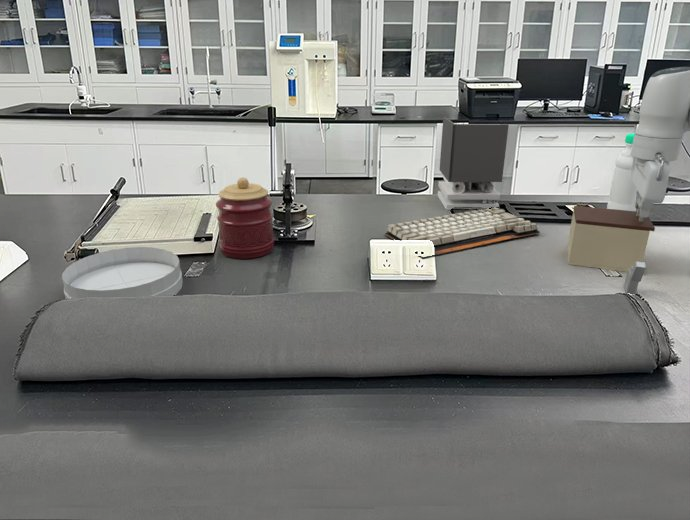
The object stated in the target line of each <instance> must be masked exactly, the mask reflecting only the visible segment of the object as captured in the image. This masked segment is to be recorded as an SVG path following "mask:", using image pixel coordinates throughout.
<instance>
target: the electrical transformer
mask: <svg viewBox="0 0 690 520" xmlns="http://www.w3.org/2000/svg"><path fill="white" fill-rule="evenodd" d="M441 130H442V131H441V145H440V156H439V171H440V172H441V174H442V178H443V180H444V181H443V180H441V181H438V184H437V185H438V188H439V189H440V190H438V191H437V197H438V199H439V201H440V202H441V204H442V205H443V207H444V208H445V210H446V211H452V210H451V209H452V208H454V207H482V208H491V207H499V208H500V204H499V203H498V202H499V200H501V193H500V192H499V191H498V190H497V189H496V188H495V187H494V184H493V183H503V177H504V168H505V167H504V166H505V160H506V151H507V141H508V134H509V124H508V123H507V124H506V123H504V124H502V123H455V122H453V121H452V120H451V119H449V118H447V116H443V117H442V129H441Z"/></svg>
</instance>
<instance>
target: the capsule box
mask: <svg viewBox="0 0 690 520" xmlns="http://www.w3.org/2000/svg"><path fill="white" fill-rule="evenodd" d="M572 211H573V212H572V215H571V221H570V228H569V234H568V239H567V245H566V251H567V264H568V265H571V266H578V267H586V268H592V269H593V268H595V269H600V270H609V271H617V272H624V273H627V268H631V266H634V265H635V262H644V257H645V254H646V250H647V244H648V241H649V236H650V232H651V231H646V230H636V229H627V228H617V227H607V226H598V225H588V224H578V223H576V222H575V214H574V209H573V210H572Z"/></svg>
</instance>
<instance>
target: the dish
mask: <svg viewBox="0 0 690 520" xmlns="http://www.w3.org/2000/svg"><path fill="white" fill-rule="evenodd" d="M180 263H181V262H180V259H179V257H178V255H177V254H175V253H173V251H170V250H167V249H164V248H158V247H151V246H149V247H147V246H143V247H142V246H135V247H123V248H115V249H109V250H105V251H101V252H97V253H94V254H90V255H88V256H85V257H83V258H81V259H78V260H76V261H74V262H72V263H71V264H70V265H68V266H67V267H66V268H65V269H64V271H63V272H62V276H61V280H62V285H63V294H64V298H65V300H66V299H71V298H87V297H139V296H165V295H175V296H177V294H178V293H179V292H180V291H181V290H182V288H183V284H184V281H183V272H182V269H181V264H180Z"/></svg>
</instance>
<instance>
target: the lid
mask: <svg viewBox="0 0 690 520" xmlns="http://www.w3.org/2000/svg"><path fill="white" fill-rule="evenodd" d="M637 204H638V209H636V211H626V210H615V209H607V208H604V207H593V206H584V205H583V206H581V205H574V206H573V210H574V214H575V222H576V223H578V224H588V225H598V226H607V227H617V228H627V229H636V230H646V231H650V232H655V229H656V228H655V225H654V224H653V222H652V220H651V218H650V215H649V216H648V217H647V218H645V217H640V216H639V209H640V207H641V204H642V198H638V199H637Z"/></svg>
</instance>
